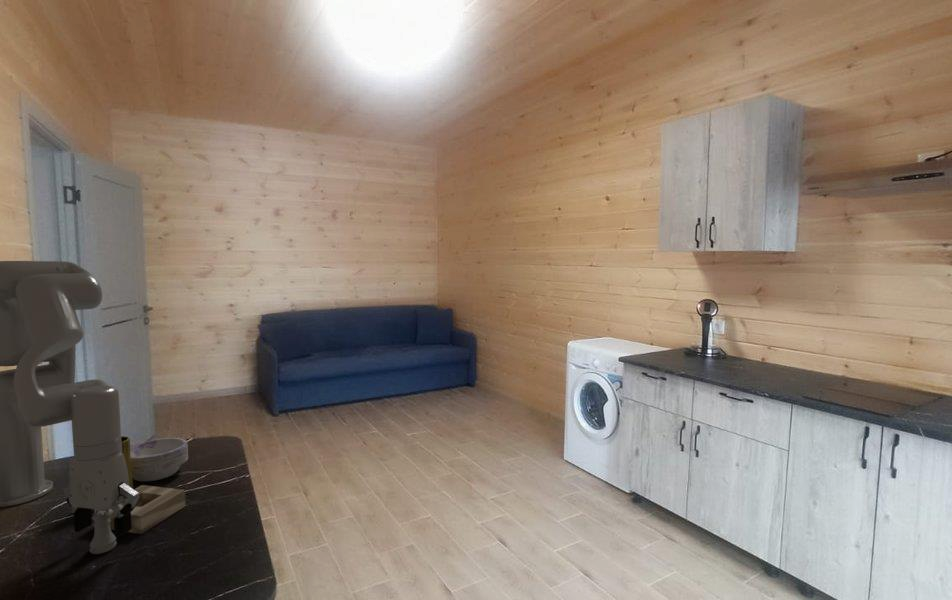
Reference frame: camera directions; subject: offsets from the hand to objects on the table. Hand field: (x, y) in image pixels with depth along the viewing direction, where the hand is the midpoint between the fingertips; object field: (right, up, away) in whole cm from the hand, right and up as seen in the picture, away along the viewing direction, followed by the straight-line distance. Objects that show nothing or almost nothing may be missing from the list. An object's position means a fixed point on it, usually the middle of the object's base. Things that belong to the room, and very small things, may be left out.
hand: (103, 530), depth 97 cm
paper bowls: (-12, -1, +34) cm, 36 cm away
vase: (-13, -2, +22) cm, 26 cm away
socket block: (-1, -3, +13) cm, 13 cm away
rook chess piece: (0, -4, 0) cm, 4 cm away
